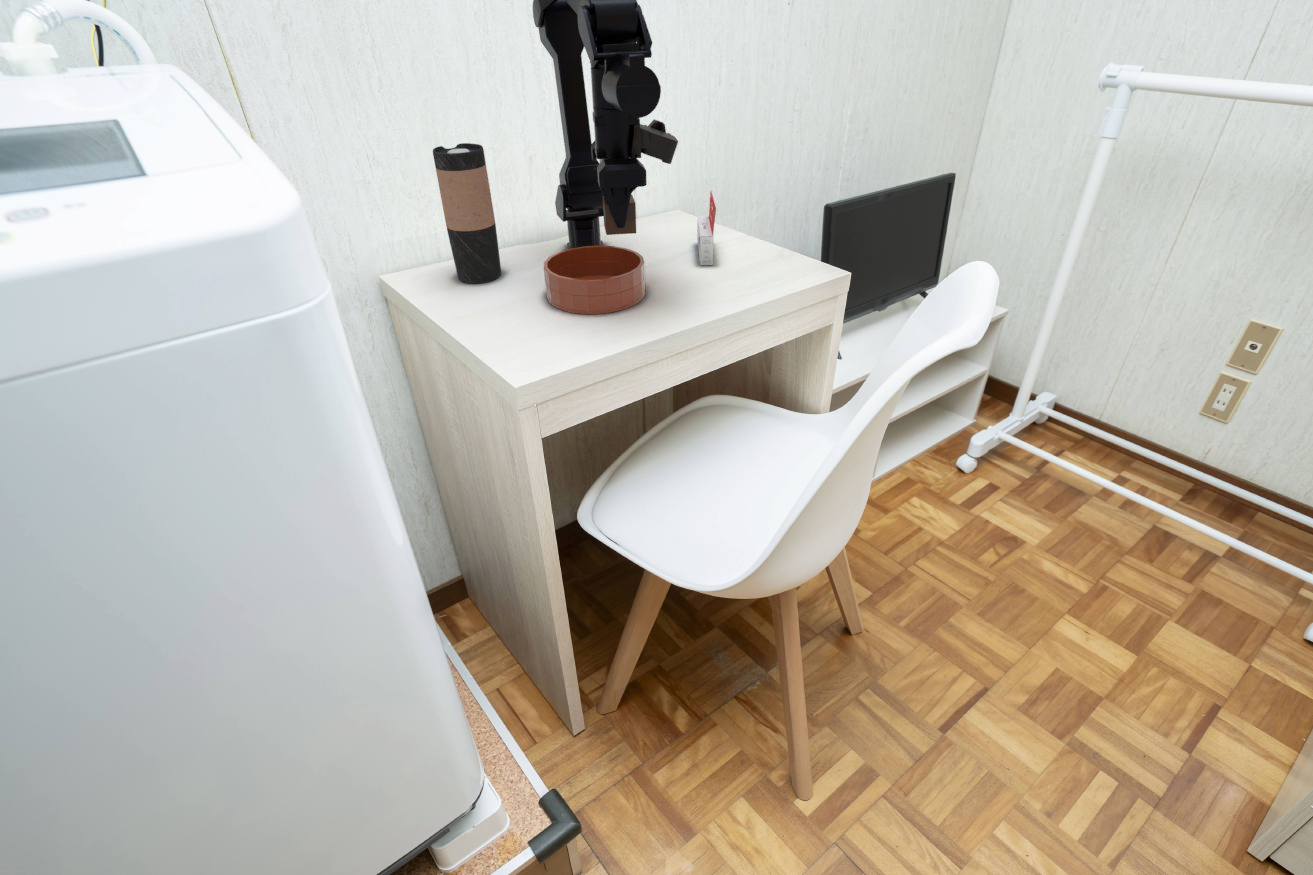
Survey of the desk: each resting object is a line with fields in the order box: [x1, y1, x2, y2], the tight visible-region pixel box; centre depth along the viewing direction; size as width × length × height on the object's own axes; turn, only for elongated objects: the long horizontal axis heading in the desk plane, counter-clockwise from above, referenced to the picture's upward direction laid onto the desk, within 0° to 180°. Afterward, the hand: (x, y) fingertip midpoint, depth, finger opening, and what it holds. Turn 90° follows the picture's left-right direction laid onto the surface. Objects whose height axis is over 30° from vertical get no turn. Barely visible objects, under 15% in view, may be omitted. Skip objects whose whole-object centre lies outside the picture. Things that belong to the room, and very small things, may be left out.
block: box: [602, 194, 637, 236], centre depth 98 cm, size 4×4×4 cm
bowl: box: [543, 245, 646, 315], centre depth 103 cm, size 15×15×5 cm
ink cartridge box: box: [696, 190, 717, 266], centre depth 115 cm, size 2×11×10 cm, turn 0°
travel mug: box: [432, 142, 502, 285], centre depth 106 cm, size 8×8×20 cm
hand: (619, 222), depth 98 cm, fingers closed on block, 4 cm apart
